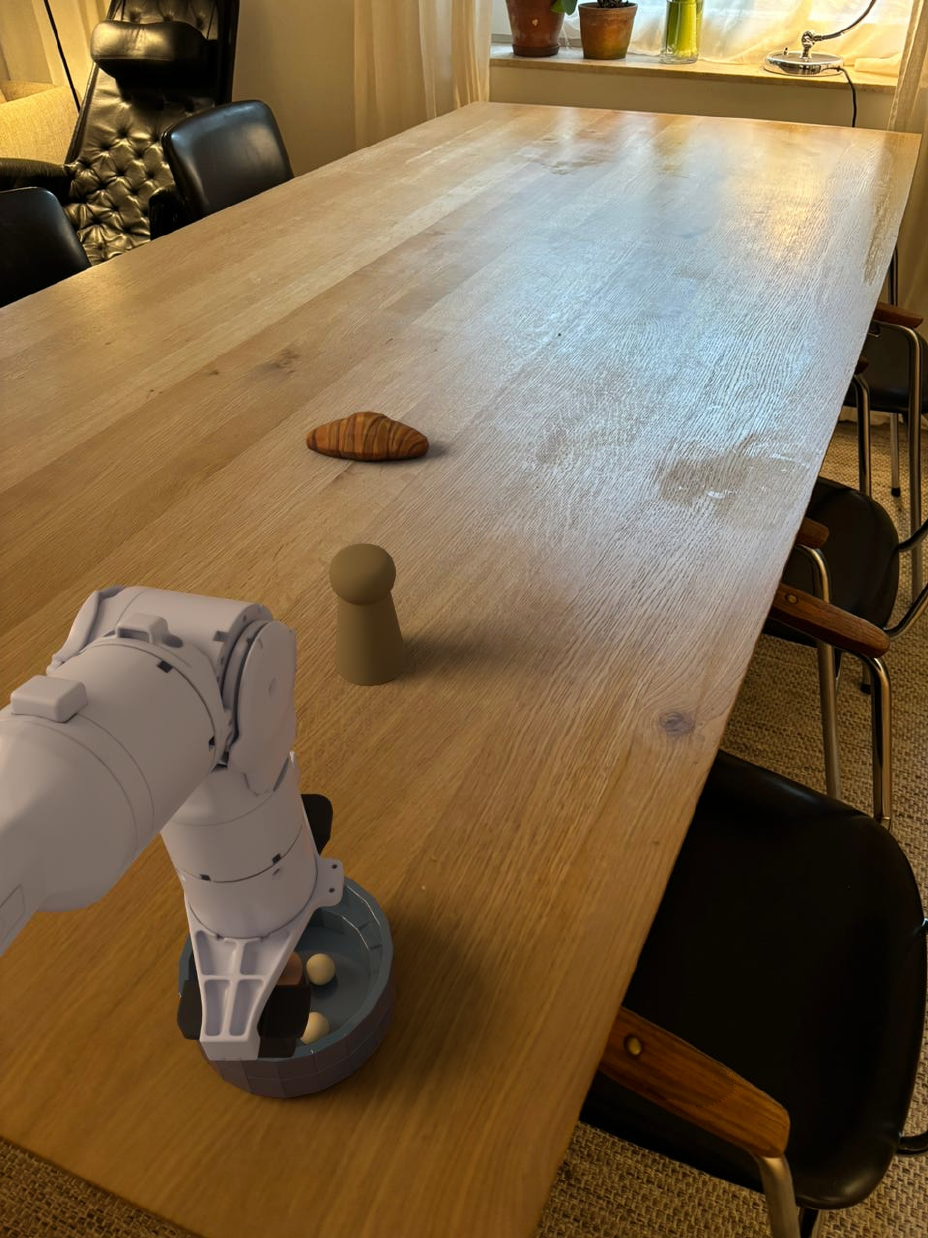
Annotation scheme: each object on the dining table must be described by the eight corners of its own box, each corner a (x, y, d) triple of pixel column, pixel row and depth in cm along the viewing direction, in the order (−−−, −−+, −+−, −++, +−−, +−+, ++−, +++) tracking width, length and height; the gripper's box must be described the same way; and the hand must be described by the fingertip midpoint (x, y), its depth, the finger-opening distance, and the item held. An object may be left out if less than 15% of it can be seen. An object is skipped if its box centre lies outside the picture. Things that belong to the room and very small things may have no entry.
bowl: (235, 1144, 54) (219, 1104, 51) (168, 966, 62) (151, 921, 59) (432, 1035, 59) (429, 992, 55) (346, 882, 67) (339, 837, 63)
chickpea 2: (307, 1057, 57) (303, 1042, 56) (295, 1031, 58) (291, 1016, 57) (335, 1042, 58) (332, 1027, 56) (323, 1016, 59) (320, 1001, 58)
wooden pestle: (258, 1024, 59) (234, 941, 53) (237, 975, 61) (211, 891, 55) (315, 995, 60) (297, 911, 54) (292, 948, 62) (272, 863, 56)
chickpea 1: (322, 977, 61) (325, 995, 60) (297, 966, 61) (301, 984, 59) (338, 955, 61) (343, 972, 60) (314, 943, 61) (318, 961, 59)
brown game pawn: (421, 652, 84) (415, 547, 77) (379, 695, 80) (368, 589, 73) (363, 627, 86) (353, 523, 79) (320, 668, 82) (304, 563, 75)
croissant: (300, 467, 106) (294, 426, 103) (313, 434, 111) (308, 394, 108) (425, 473, 105) (423, 431, 102) (433, 440, 110) (431, 399, 107)
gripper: (310, 989, 36) (349, 1125, 45) (345, 691, 46) (371, 851, 56) (117, 991, 36) (196, 1125, 46) (196, 693, 47) (247, 852, 56)
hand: (283, 975), depth 51 cm, fingers open, 7 cm apart
